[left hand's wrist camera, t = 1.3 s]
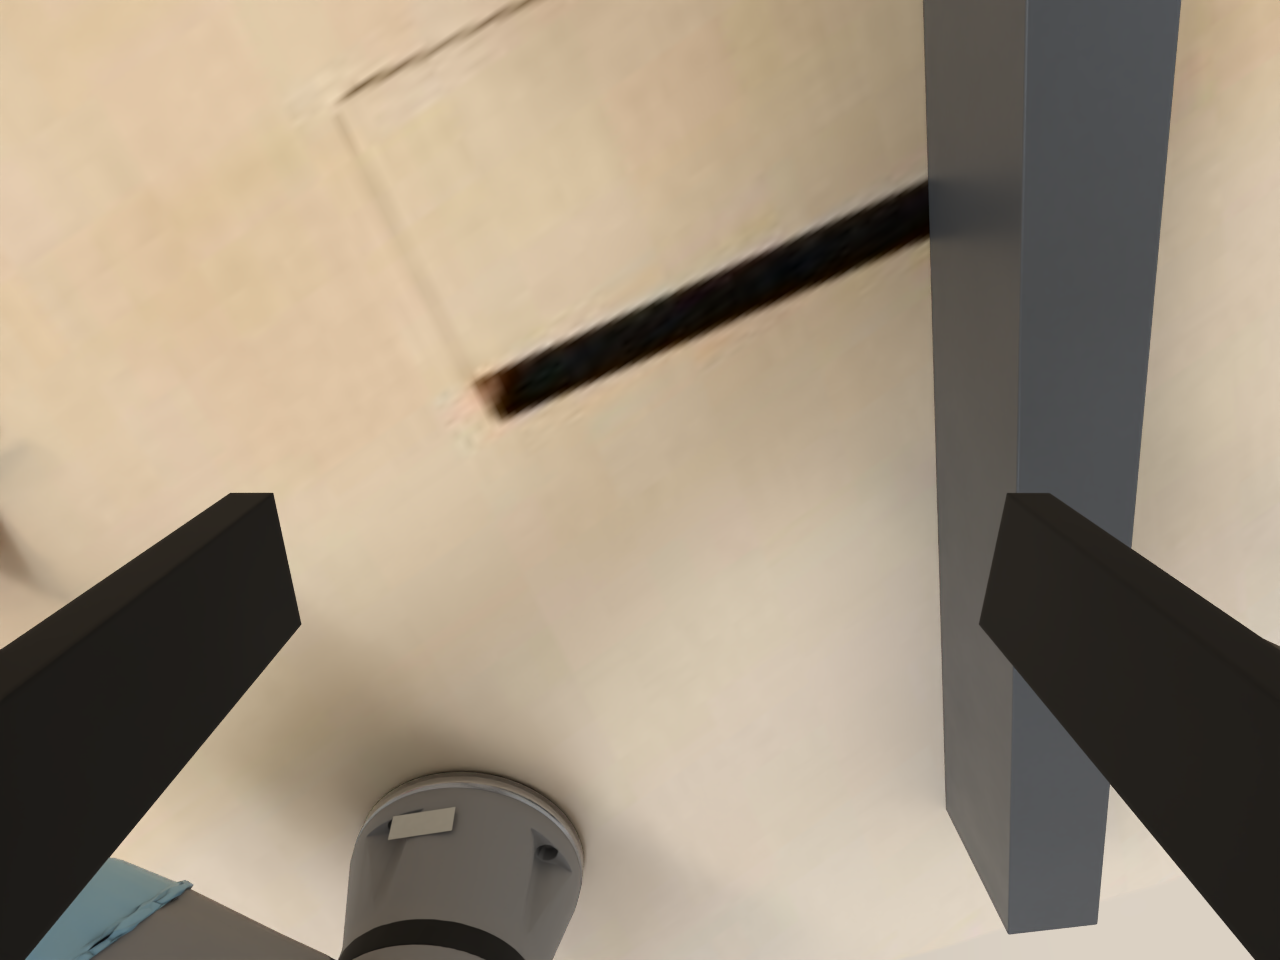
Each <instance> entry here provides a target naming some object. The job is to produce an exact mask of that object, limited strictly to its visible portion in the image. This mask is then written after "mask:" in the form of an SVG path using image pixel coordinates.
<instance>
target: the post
mask: <svg viewBox="0 0 1280 960" xmlns="http://www.w3.org/2000/svg"><path fill="white" fill-rule="evenodd" d="M1180 7H1181V0H923V10H924V45H925V80H926V116H927V151H928V186H929V221H930V256H931V292H932V327H933V362H934V397H935V433H936V468H937V503H938V538H939V573H940V609H941V644H942V679H943V714H944V750H945V785H946V810H947V812H948V814H949V816H950V818H951V820H952V822H953V824H954V826H955V828H956V830H957V832H958V834H959V836H960V838H961V840H962V842H963V844H964V846H965V848H966V850H967V852H968V854H969V856H970V858H971V860H972V862H973V864H974V866H975V868H976V870H977V872H978V874H979V876H980V878H981V880H982V882H983V884H984V886H985V889H986V891H987V893H988V895H989V897H990V899H991V901H992V903H993V905H994V907H995V909H996V911H997V913H998V915H999V917H1000V919H1001V921H1002V923H1003V925H1004V927H1005V929H1006V931H1007V933H1008V934H1017V933H1026V932H1035V931H1043V930H1052V929H1061V928H1069V927H1078V926H1087V925H1095V924H1097V920H1098V909H1099V898H1100V887H1101V876H1102V865H1103V854H1104V843H1105V832H1106V821H1107V810H1108V799H1109V788H1110V783H1109V782H1108V781H1107V780H1106V778H1105V777H1104V776H1103V775H1102V773H1101V772H1100V771H1099V770H1098V769H1097V767H1096V766H1095V765H1094V764H1093V763H1092V761H1091V760H1090V759H1089V758H1088V756H1087V755H1086V754H1085V753H1084V752H1083V750H1082V749H1081V748H1080V747H1079V746H1078V744H1077V743H1076V742H1075V741H1074V739H1073V738H1072V737H1071V736H1070V735H1069V733H1068V732H1067V731H1066V730H1065V729H1064V727H1063V726H1062V725H1061V724H1060V722H1059V721H1058V720H1057V719H1056V718H1055V716H1054V715H1053V714H1052V713H1051V712H1050V710H1049V709H1048V708H1047V707H1046V705H1045V704H1044V703H1043V702H1042V701H1041V699H1040V698H1039V697H1038V696H1037V695H1036V693H1035V692H1034V691H1033V690H1032V688H1031V687H1030V686H1029V685H1028V684H1027V682H1026V681H1025V680H1024V679H1023V678H1022V676H1021V675H1020V674H1019V673H1018V672H1017V670H1016V669H1015V668H1014V667H1013V665H1012V664H1011V663H1010V662H1009V661H1008V659H1007V658H1006V657H1005V656H1004V655H1003V653H1002V652H1001V651H1000V650H999V648H998V647H997V646H996V645H995V644H994V642H993V641H992V640H991V639H990V638H989V636H988V635H987V634H986V633H985V631H984V630H983V629H982V628H981V627H980V625H979V621H980V616H981V611H982V607H983V602H984V597H985V593H986V588H987V583H988V579H989V574H990V569H991V565H992V560H993V555H994V551H995V546H996V541H997V537H998V532H999V527H1000V523H1001V518H1002V513H1003V509H1004V504H1005V499H1006V495H1007V493H1050V494H1052V495H1053V496H1055V497H1056V498H1058V499H1059V500H1061V501H1062V502H1064V503H1065V504H1067V505H1068V506H1069V507H1071V508H1072V509H1074V510H1075V511H1077V512H1078V513H1080V514H1081V515H1083V516H1084V517H1086V518H1087V519H1089V520H1090V521H1091V522H1093V523H1094V524H1096V525H1097V526H1099V527H1100V528H1102V529H1103V530H1105V531H1106V532H1108V533H1109V534H1110V535H1112V536H1113V537H1115V538H1116V539H1118V540H1119V541H1121V542H1122V543H1124V544H1125V545H1127V546H1128V547H1130V548H1131V546H1132V535H1133V524H1134V513H1135V502H1136V491H1137V480H1138V469H1139V458H1140V447H1141V436H1142V425H1143V414H1144V403H1145V392H1146V381H1147V370H1148V359H1149V348H1150V337H1151V326H1152V315H1153V304H1154V293H1155V282H1156V271H1157V260H1158V249H1159V238H1160V227H1161V216H1162V205H1163V194H1164V183H1165V172H1166V161H1167V150H1168V139H1169V128H1170V117H1171V106H1172V95H1173V84H1174V73H1175V62H1176V51H1177V40H1178V29H1179V18H1180Z"/></svg>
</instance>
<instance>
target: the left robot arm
mask: <svg viewBox="0 0 1280 960" xmlns="http://www.w3.org/2000/svg"><path fill="white" fill-rule="evenodd" d="M300 625H301V621H300V616H299V611H298V607H297V602H296V597H295V593H294V588H293V583H292V579H291V574H290V569H289V565H288V560H287V555H286V551H285V546H284V541H283V537H282V532H281V527H280V523H279V518H278V513H277V509H276V504H275V499H274V495H273V493H230V494H228V495H227V496H225V497H224V498H222V499H221V500H219V501H218V502H216V503H215V504H213V505H212V506H211V507H209V508H208V509H206V510H205V511H203V512H202V513H200V514H199V515H197V516H196V517H194V518H193V519H191V520H190V521H189V522H187V523H186V524H184V525H183V526H181V527H180V528H178V529H177V530H175V531H174V532H172V533H171V534H170V535H168V536H167V537H165V538H164V539H162V540H161V541H159V542H158V543H156V544H155V545H153V546H152V547H150V548H149V549H148V550H146V551H145V552H143V553H142V554H140V555H139V556H137V557H136V558H134V559H133V560H131V561H130V562H128V563H127V564H126V565H124V566H123V567H121V568H120V569H118V570H117V571H115V572H114V573H112V574H111V575H109V576H108V577H107V578H105V579H104V580H102V581H101V582H99V583H98V584H96V585H95V586H93V587H92V588H90V589H89V590H87V591H86V592H85V593H83V594H82V595H80V596H79V597H77V598H76V599H74V600H73V601H71V602H70V603H68V604H67V605H66V606H64V607H63V608H61V609H60V610H58V611H57V612H55V613H54V614H52V615H51V616H49V617H48V618H46V619H45V620H44V621H42V622H41V623H39V624H38V625H36V626H35V627H33V628H32V629H30V630H29V631H27V632H26V633H25V634H23V635H22V636H20V637H19V638H17V639H16V640H14V641H13V642H11V643H10V644H8V645H7V646H5V647H4V648H2V649H0V960H335V959H333V958H331V957H330V956H327V955H326V954H324V953H322V952H319V951H317V950H315V949H313V948H311V947H309V946H306V945H304V944H302V943H300V942H298V941H296V940H293V939H291V938H289V937H287V936H285V935H283V934H280V933H278V932H276V931H274V930H272V929H270V928H268V927H266V926H264V925H262V924H260V923H258V922H256V921H254V920H252V919H250V918H248V917H246V916H244V915H242V914H240V913H238V912H236V911H234V910H232V909H230V908H228V907H226V906H224V905H222V904H220V903H218V902H216V901H214V900H212V899H210V898H207V897H205V896H203V895H201V894H199V893H197V892H195V891H193V890H191V888H192V886H193V884H192V883H190V882H189V881H186V880H184V881H180V882H175V881H173V880H170V879H168V878H165V877H163V876H160V875H158V874H155V873H153V872H150V871H148V870H145V869H143V868H141V867H138V866H136V865H133V864H131V863H128V862H126V861H123V860H120V859H116V858H109V857H110V856H111V855H112V854H113V852H114V851H115V850H116V849H117V848H118V846H119V845H120V844H121V843H122V841H123V840H124V839H125V838H126V837H127V835H128V834H129V833H130V832H131V831H132V829H133V828H134V827H135V826H136V824H137V823H138V822H139V821H140V820H141V818H142V817H143V816H144V815H145V814H146V812H147V811H148V810H149V809H150V807H151V806H152V805H153V804H154V803H155V801H156V800H157V799H158V798H159V797H160V795H161V794H162V793H163V792H164V790H165V789H166V788H167V787H168V786H169V784H170V783H171V782H172V781H173V780H174V778H175V777H176V776H177V775H178V773H179V772H180V771H181V770H182V769H183V767H184V766H185V765H186V764H187V763H188V761H189V760H190V759H191V758H192V756H193V755H194V754H195V753H196V752H197V750H198V749H199V748H200V747H201V746H202V744H203V743H204V742H205V741H206V739H207V738H208V737H209V736H210V735H211V733H212V732H213V731H214V730H215V729H216V727H217V726H218V725H219V724H220V722H221V721H222V720H223V719H224V718H225V716H226V715H227V714H228V713H229V712H230V710H231V709H232V708H233V707H234V705H235V704H236V703H237V702H238V701H239V699H240V698H241V697H242V696H243V695H244V693H245V692H246V691H247V690H248V688H249V687H250V686H251V685H252V684H253V682H254V681H255V680H256V679H257V678H258V676H259V675H260V674H261V673H262V672H263V670H264V669H265V668H266V667H267V665H268V664H269V663H270V662H271V661H272V659H273V658H274V657H275V656H276V655H277V653H278V652H279V651H280V650H281V648H282V647H283V646H284V645H285V644H286V642H287V641H288V640H289V639H290V638H291V636H292V635H293V634H294V633H295V631H296V630H297V629H298V628H299V627H300ZM979 625H980V627H981V628H982V629H983V630H984V631H985V633H986V634H987V635H988V636H989V638H990V639H991V640H992V641H993V642H994V644H995V645H996V646H997V647H998V648H999V650H1000V651H1001V652H1002V653H1003V655H1004V656H1005V657H1006V658H1007V659H1008V661H1009V662H1010V663H1011V664H1012V665H1013V667H1014V668H1015V669H1016V670H1017V672H1018V673H1019V674H1020V675H1021V676H1022V678H1023V679H1024V680H1025V681H1026V682H1027V684H1028V685H1029V686H1030V687H1031V688H1032V690H1033V691H1034V692H1035V693H1036V695H1037V696H1038V697H1039V698H1040V699H1041V701H1042V702H1043V703H1044V704H1045V705H1046V707H1047V708H1048V709H1049V710H1050V712H1051V713H1052V714H1053V715H1054V716H1055V718H1056V719H1057V720H1058V721H1059V722H1060V724H1061V725H1062V726H1063V727H1064V729H1065V730H1066V731H1067V732H1068V733H1069V735H1070V736H1071V737H1072V738H1073V739H1074V741H1075V742H1076V743H1077V744H1078V746H1079V747H1080V748H1081V749H1082V750H1083V752H1084V753H1085V754H1086V755H1087V756H1088V758H1089V759H1090V760H1091V761H1092V763H1093V764H1094V765H1095V766H1096V767H1097V769H1098V770H1099V771H1100V772H1101V773H1102V775H1103V776H1104V777H1105V778H1106V780H1107V781H1108V782H1109V783H1110V784H1111V786H1112V787H1113V788H1114V789H1115V790H1116V792H1117V793H1118V794H1119V795H1120V797H1121V798H1122V799H1123V800H1124V801H1125V803H1126V804H1127V805H1128V806H1129V807H1130V809H1131V810H1132V811H1133V812H1134V814H1135V815H1136V816H1137V817H1138V818H1139V820H1140V821H1141V822H1142V823H1143V824H1144V826H1145V827H1146V828H1147V829H1148V831H1149V832H1150V833H1151V834H1152V835H1153V837H1154V838H1155V839H1156V840H1157V841H1158V843H1159V844H1160V845H1161V846H1162V848H1163V849H1164V850H1165V851H1166V852H1167V854H1168V855H1169V856H1170V857H1171V858H1172V860H1173V861H1174V862H1175V863H1176V865H1177V866H1178V867H1179V868H1180V869H1181V871H1182V872H1183V873H1184V874H1185V875H1186V877H1187V878H1188V879H1189V880H1190V881H1191V883H1192V884H1193V885H1194V886H1195V888H1196V889H1197V890H1198V891H1199V892H1200V894H1201V895H1202V896H1203V897H1204V898H1205V900H1206V901H1207V902H1208V903H1209V905H1210V906H1211V907H1212V908H1213V909H1214V911H1215V912H1216V913H1217V914H1218V915H1219V917H1220V918H1221V919H1222V920H1223V921H1224V923H1225V924H1226V925H1227V926H1228V928H1229V929H1230V930H1231V931H1232V932H1233V934H1234V935H1235V936H1236V937H1237V939H1238V940H1239V941H1240V942H1241V943H1242V945H1243V946H1244V947H1245V948H1246V949H1247V951H1248V952H1249V953H1250V954H1251V956H1252V957H1253V958H1254V959H1255V960H1280V646H1278V645H1276V644H1273V643H1271V642H1269V641H1267V640H1265V639H1263V638H1261V637H1260V636H1258V635H1257V634H1255V633H1254V632H1253V631H1251V630H1250V629H1248V628H1247V627H1245V626H1244V625H1242V624H1241V623H1239V622H1238V621H1236V620H1235V619H1234V618H1232V617H1231V616H1229V615H1228V614H1226V613H1225V612H1223V611H1222V610H1220V609H1219V608H1217V607H1216V606H1214V605H1213V604H1212V603H1210V602H1209V601H1207V600H1206V599H1204V598H1203V597H1201V596H1200V595H1198V594H1197V593H1195V592H1194V591H1193V590H1191V589H1190V588H1188V587H1187V586H1185V585H1184V584H1182V583H1181V582H1179V581H1178V580H1176V579H1175V578H1173V577H1172V576H1171V575H1169V574H1168V573H1166V572H1165V571H1163V570H1162V569H1160V568H1159V567H1157V566H1156V565H1154V564H1153V563H1152V562H1150V561H1149V560H1147V559H1146V558H1144V557H1143V556H1141V555H1140V554H1138V553H1137V552H1135V551H1134V550H1132V549H1131V548H1130V547H1128V546H1127V545H1125V544H1124V543H1122V542H1121V541H1119V540H1118V539H1116V538H1115V537H1113V536H1112V535H1110V534H1109V533H1108V532H1106V531H1105V530H1103V529H1102V528H1100V527H1099V526H1097V525H1096V524H1094V523H1093V522H1091V521H1090V520H1089V519H1087V518H1086V517H1084V516H1083V515H1081V514H1080V513H1078V512H1077V511H1075V510H1074V509H1072V508H1071V507H1069V506H1068V505H1067V504H1065V503H1064V502H1062V501H1061V500H1059V499H1058V498H1056V497H1055V496H1053V495H1052V494H1050V493H1007V495H1006V499H1005V504H1004V509H1003V513H1002V518H1001V523H1000V527H999V532H998V537H997V541H996V546H995V551H994V555H993V560H992V565H991V569H990V574H989V579H988V583H987V588H986V593H985V597H984V602H983V607H982V611H981V616H980V621H979ZM583 861H584V859H583V850H582V845H581V842H580V839H579V836H578V834H577V832H576V830H575V828H574V826H573V825H572V823H571V822H570V820H569V819H568V818H567V817H566V815H565V814H564V813H563V812H562V811H561V810H560V809H559V808H558V807H557V806H556V805H555V804H553V803H552V802H551V801H550V800H549V799H547V798H546V797H544V796H543V795H541V794H540V793H538V792H536V791H535V790H533V789H531V788H529V787H527V786H525V785H523V784H520V783H518V782H515V781H512V780H509V779H506V778H503V777H499V776H495V775H490V774H484V773H477V772H445V773H438V774H432V775H427V776H423V777H420V778H417V779H414V780H411V781H409V782H407V783H404V784H402V785H400V786H398V787H397V788H395V789H393V790H392V791H390V792H389V793H388V794H386V795H385V796H384V797H383V798H382V799H380V800H379V801H378V802H377V804H376V805H375V806H374V807H373V808H372V810H371V811H370V813H369V814H368V816H367V818H366V820H365V822H364V825H363V827H362V829H361V831H360V833H359V835H358V838H357V841H356V844H355V848H354V851H353V855H352V858H351V863H350V871H349V883H348V894H347V905H346V916H345V927H344V938H343V948H342V951H341V954H340V957H339V959H338V960H552V959H553V957H554V955H555V953H556V950H557V948H558V946H559V944H560V942H561V939H562V937H563V935H564V933H565V930H566V928H567V926H568V924H569V922H570V919H571V917H572V915H573V913H574V910H575V908H576V905H577V901H578V897H579V893H580V889H581V884H582V873H583Z"/></svg>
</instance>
